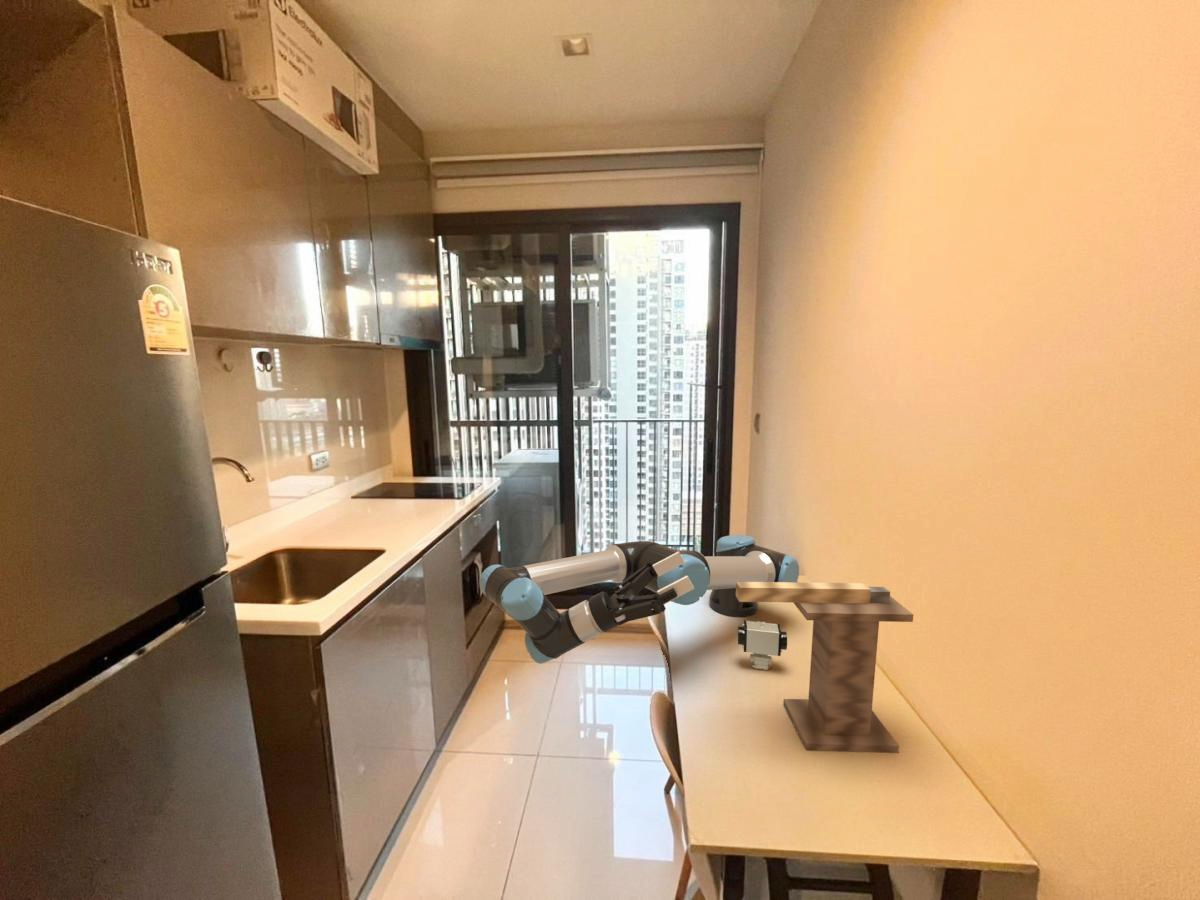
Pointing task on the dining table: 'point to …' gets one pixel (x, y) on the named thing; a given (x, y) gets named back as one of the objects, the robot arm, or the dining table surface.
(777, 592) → the brown streaked block
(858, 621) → the shelf stand
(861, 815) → the dining table surface
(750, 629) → the pneumatic valve
